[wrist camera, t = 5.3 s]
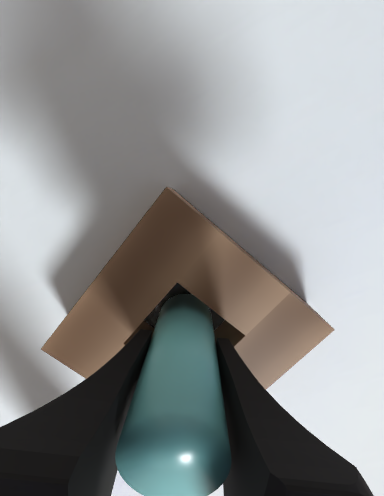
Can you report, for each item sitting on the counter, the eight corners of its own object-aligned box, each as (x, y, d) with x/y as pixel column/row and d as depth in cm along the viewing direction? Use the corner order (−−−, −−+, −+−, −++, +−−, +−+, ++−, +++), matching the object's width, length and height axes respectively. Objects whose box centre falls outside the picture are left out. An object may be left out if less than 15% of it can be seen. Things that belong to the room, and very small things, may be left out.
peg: (216, 298, 14) (242, 424, 6) (206, 344, 15) (219, 509, 7) (163, 289, 14) (121, 405, 6) (156, 336, 15) (110, 494, 7)
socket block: (307, 303, 15) (334, 329, 12) (196, 407, 17) (196, 450, 14) (172, 189, 13) (166, 186, 10) (70, 320, 15) (40, 349, 13)
